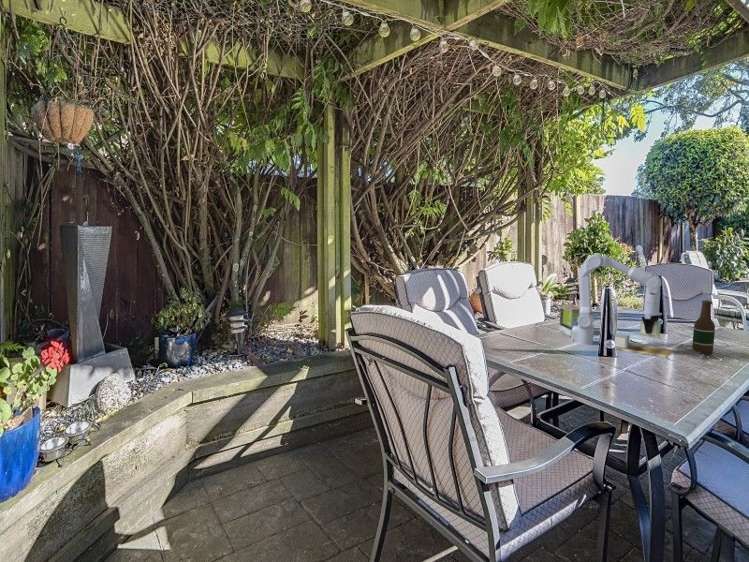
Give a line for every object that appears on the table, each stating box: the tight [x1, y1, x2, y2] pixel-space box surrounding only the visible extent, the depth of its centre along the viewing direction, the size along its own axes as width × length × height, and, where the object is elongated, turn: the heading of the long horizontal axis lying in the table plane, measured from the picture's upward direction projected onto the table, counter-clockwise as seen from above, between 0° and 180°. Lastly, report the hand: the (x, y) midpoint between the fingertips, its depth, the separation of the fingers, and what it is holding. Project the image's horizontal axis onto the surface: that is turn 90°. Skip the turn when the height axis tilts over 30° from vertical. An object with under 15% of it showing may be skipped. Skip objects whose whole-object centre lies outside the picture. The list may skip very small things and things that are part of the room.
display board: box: [615, 342, 673, 359], centre depth 206 cm, size 24×18×3 cm
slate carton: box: [615, 332, 631, 349], centre depth 207 cm, size 7×5×6 cm, turn 48°
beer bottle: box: [691, 300, 716, 356], centre depth 203 cm, size 8×8×24 cm
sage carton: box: [639, 320, 662, 339], centre depth 202 cm, size 7×5×6 cm, turn 48°
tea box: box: [559, 304, 580, 337], centre depth 240 cm, size 15×10×15 cm
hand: (649, 332), depth 202 cm, fingers closed on sage carton, 5 cm apart
